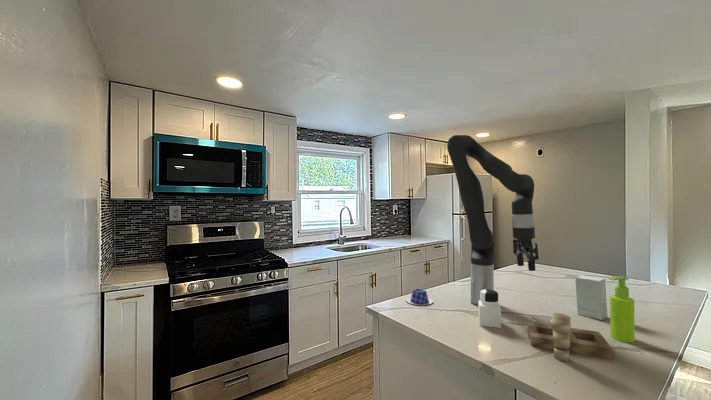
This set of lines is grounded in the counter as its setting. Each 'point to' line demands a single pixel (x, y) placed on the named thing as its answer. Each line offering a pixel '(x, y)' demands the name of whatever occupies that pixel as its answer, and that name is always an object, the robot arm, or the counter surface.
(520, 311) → the counter surface
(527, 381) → the counter surface
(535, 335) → the board
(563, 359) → the peg
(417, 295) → the pudding
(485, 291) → the medicine bottle
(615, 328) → the soap dispenser
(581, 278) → the skincare box
